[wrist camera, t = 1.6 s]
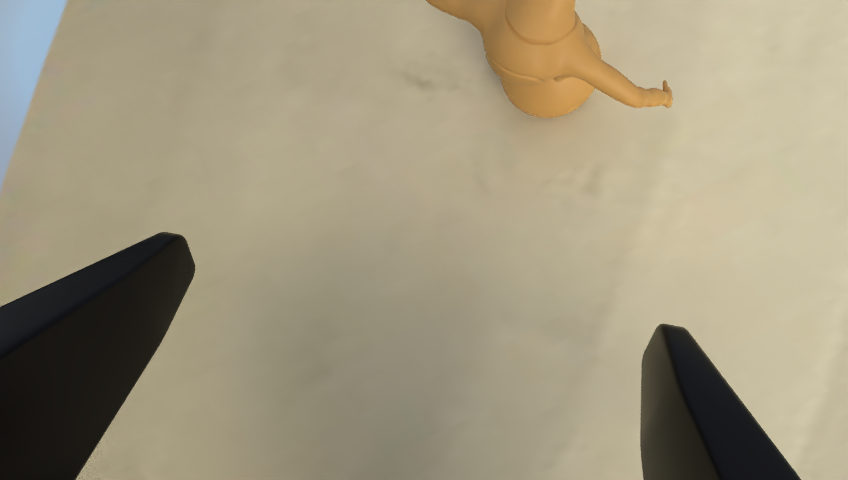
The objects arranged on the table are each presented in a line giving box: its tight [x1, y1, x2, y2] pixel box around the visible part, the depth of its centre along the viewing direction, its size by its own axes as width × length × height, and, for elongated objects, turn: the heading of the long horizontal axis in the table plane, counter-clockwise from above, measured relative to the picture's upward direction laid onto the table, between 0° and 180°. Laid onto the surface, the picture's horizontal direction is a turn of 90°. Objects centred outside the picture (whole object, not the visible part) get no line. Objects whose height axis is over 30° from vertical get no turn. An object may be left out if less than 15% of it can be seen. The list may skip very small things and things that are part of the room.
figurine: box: [426, 0, 673, 118], centre depth 17 cm, size 8×6×12 cm
